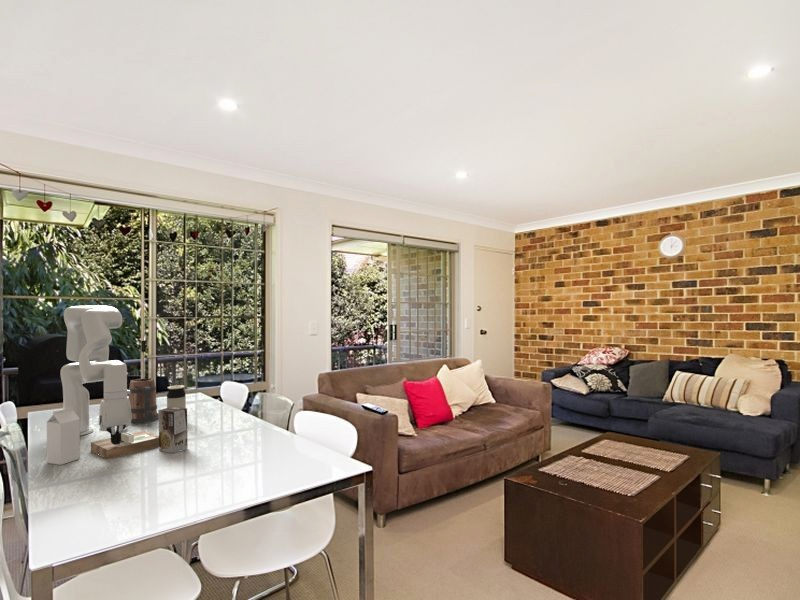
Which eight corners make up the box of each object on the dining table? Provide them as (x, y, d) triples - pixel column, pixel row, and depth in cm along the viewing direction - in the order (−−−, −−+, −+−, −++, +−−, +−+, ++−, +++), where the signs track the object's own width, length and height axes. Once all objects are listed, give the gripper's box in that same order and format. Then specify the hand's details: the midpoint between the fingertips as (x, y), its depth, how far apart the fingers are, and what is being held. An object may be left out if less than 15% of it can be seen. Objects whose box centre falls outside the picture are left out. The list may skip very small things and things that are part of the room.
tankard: (119, 419, 230) (119, 379, 230) (156, 413, 241) (156, 375, 241) (129, 428, 213) (129, 385, 213) (169, 422, 224) (168, 381, 224)
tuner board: (91, 451, 181) (90, 441, 181) (144, 438, 196) (144, 430, 197) (107, 459, 171) (107, 449, 171) (162, 445, 187) (162, 436, 187)
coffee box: (188, 448, 182) (188, 408, 182) (174, 453, 177) (174, 411, 177) (172, 445, 186) (172, 406, 186) (158, 450, 180) (157, 409, 180)
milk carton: (80, 459, 172) (79, 408, 172) (60, 465, 165) (60, 412, 165) (66, 457, 174) (66, 406, 174) (46, 463, 167) (46, 411, 167)
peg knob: (114, 440, 182) (114, 430, 182) (125, 437, 185) (124, 428, 185) (125, 445, 175) (125, 434, 175) (136, 442, 179) (136, 432, 179)
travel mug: (169, 427, 214) (169, 388, 214) (165, 424, 220) (164, 386, 220) (187, 424, 219) (187, 386, 219) (182, 421, 225) (182, 384, 225)
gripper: (132, 391, 183) (132, 437, 183) (89, 397, 171) (89, 447, 171) (140, 393, 178) (141, 440, 178) (97, 400, 166) (97, 450, 166)
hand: (115, 443), depth 175 cm, fingers closed
